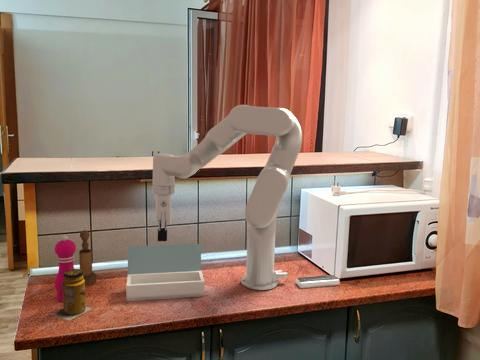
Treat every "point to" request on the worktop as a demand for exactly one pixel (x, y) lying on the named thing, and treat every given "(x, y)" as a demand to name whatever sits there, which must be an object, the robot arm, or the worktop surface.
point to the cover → (164, 258)
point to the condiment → (72, 295)
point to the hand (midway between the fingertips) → (162, 240)
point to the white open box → (164, 285)
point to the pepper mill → (63, 262)
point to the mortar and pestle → (86, 260)
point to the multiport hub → (317, 281)
